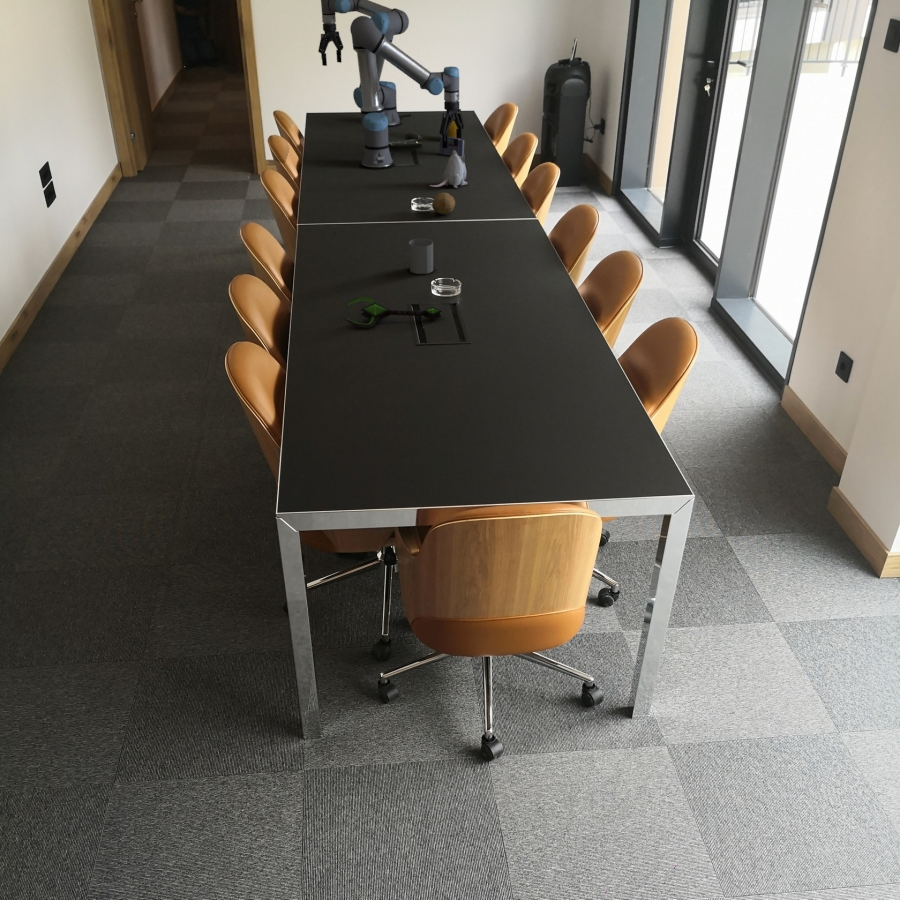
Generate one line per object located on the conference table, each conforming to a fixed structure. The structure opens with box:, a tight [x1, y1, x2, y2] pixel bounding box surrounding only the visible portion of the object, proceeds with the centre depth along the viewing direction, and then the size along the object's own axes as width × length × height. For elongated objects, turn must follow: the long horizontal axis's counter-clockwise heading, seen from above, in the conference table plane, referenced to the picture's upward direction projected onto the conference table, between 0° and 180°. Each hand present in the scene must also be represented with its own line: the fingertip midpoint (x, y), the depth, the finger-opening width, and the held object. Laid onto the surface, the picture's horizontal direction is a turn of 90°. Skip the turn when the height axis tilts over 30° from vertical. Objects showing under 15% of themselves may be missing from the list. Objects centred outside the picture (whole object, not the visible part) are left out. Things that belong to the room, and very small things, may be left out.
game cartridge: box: [439, 136, 465, 158], centre depth 441 cm, size 14×3×9 cm, turn 59°
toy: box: [428, 150, 468, 189], centre depth 390 cm, size 9×24×15 cm, turn 137°
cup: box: [408, 237, 434, 275], centre depth 305 cm, size 8×8×10 cm
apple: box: [447, 120, 458, 138], centre depth 467 cm, size 11×11×13 cm
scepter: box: [344, 296, 443, 329], centre depth 270 cm, size 6×13×30 cm
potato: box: [431, 192, 456, 216], centre depth 360 cm, size 10×14×8 cm
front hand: (452, 145), depth 441 cm, fingers open, 13 cm apart
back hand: (332, 64), depth 500 cm, fingers open, 13 cm apart
